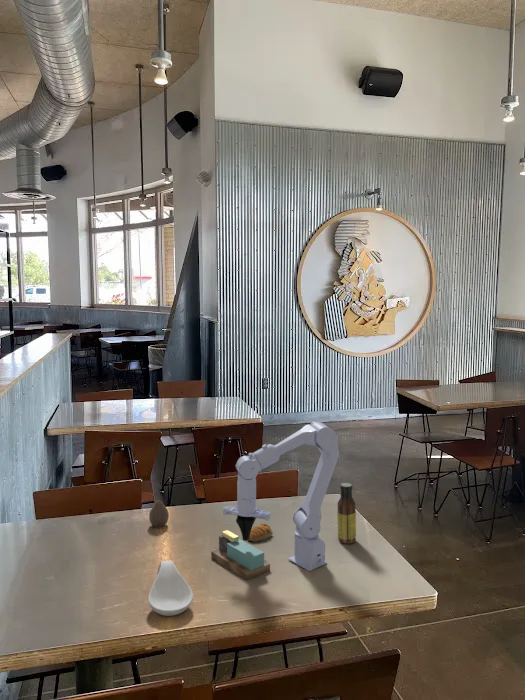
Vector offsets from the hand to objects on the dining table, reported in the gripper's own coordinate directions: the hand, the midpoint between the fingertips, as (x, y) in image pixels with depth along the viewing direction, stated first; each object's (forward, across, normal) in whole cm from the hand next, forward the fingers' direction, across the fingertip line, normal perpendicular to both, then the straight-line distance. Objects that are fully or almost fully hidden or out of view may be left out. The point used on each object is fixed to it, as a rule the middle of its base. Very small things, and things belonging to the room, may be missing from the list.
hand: (246, 539), depth 160 cm
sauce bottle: (+9, -27, -28) cm, 40 cm away
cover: (+7, 0, 0) cm, 7 cm away
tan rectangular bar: (+3, +7, -4) cm, 8 cm away
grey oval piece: (+9, +40, -19) cm, 45 cm away
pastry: (+9, +2, -22) cm, 24 cm away
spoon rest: (+10, +15, +22) cm, 28 cm away
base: (+9, +2, -2) cm, 9 cm away
